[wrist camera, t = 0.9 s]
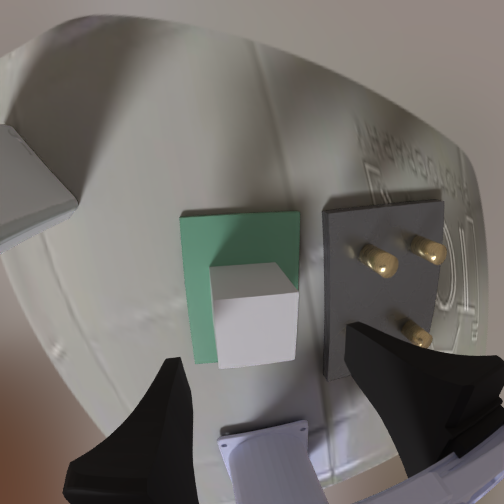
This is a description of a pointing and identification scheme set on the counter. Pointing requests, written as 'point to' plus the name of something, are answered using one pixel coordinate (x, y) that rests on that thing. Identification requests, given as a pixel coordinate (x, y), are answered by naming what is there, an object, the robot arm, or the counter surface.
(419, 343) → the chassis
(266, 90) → the counter surface
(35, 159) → the external hard drive
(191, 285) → the board
